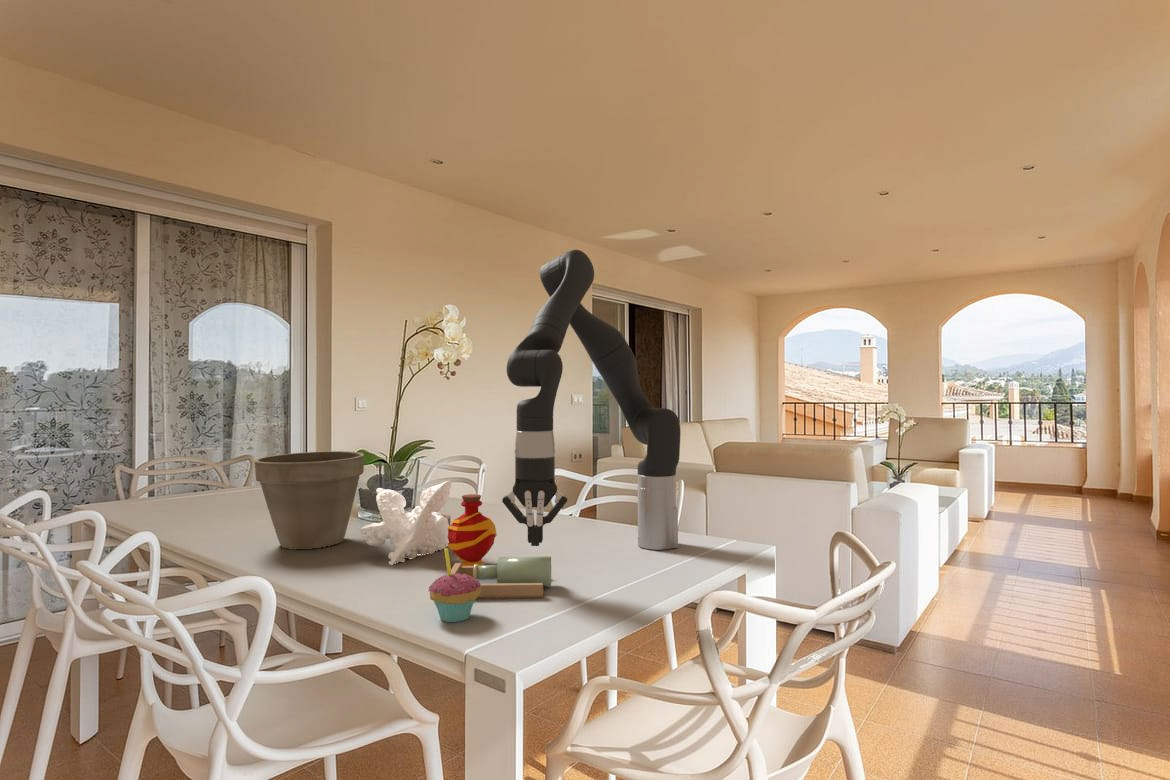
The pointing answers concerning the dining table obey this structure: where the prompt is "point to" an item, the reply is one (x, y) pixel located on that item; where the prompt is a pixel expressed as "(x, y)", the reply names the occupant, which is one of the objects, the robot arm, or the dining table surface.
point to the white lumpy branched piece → (410, 523)
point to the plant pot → (310, 495)
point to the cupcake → (454, 594)
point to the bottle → (517, 570)
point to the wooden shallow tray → (501, 586)
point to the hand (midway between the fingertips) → (535, 545)
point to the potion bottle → (471, 533)
